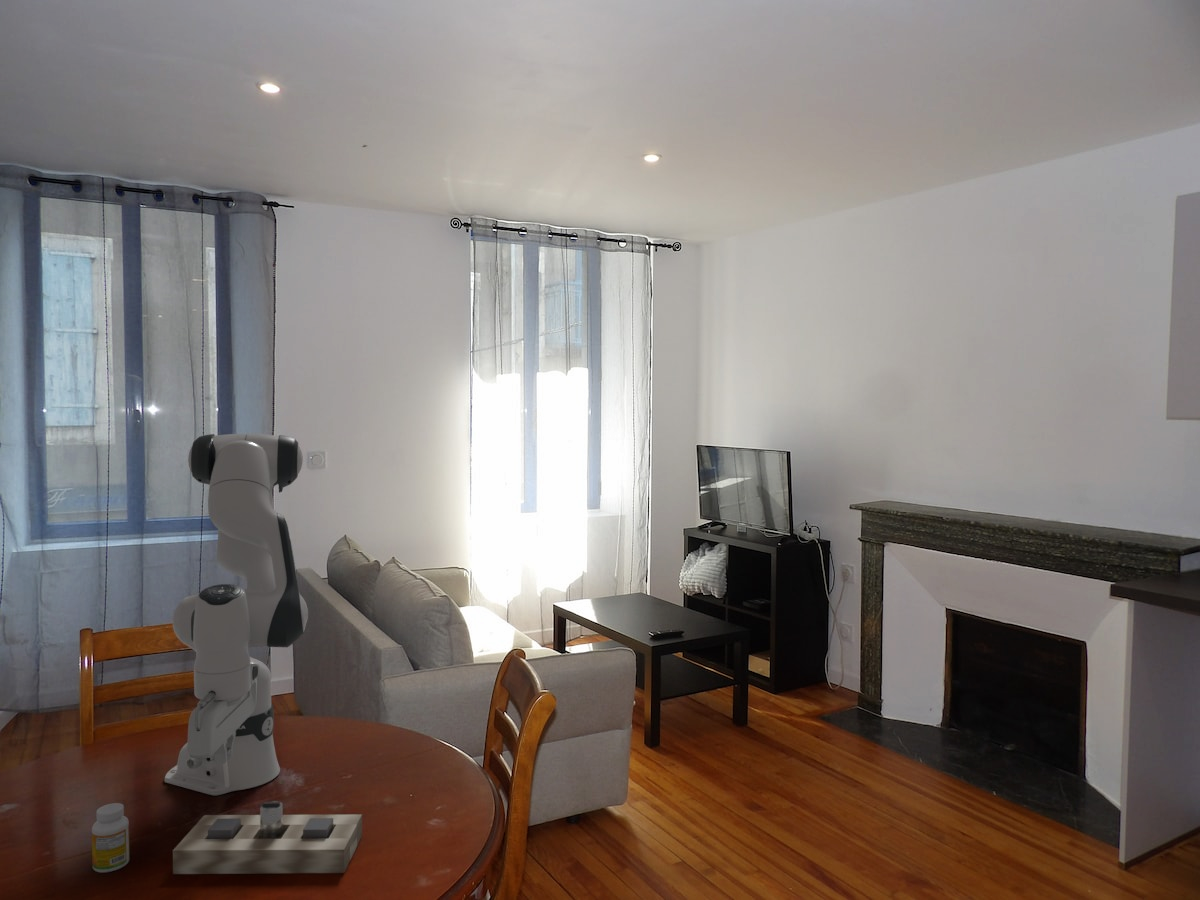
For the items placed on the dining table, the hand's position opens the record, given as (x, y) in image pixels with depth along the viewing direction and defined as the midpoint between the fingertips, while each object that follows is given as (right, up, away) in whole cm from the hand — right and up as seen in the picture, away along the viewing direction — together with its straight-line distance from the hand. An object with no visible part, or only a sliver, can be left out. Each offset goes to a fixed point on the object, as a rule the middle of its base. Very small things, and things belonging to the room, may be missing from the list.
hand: (224, 759), depth 145 cm
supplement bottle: (-18, -17, -3) cm, 24 cm away
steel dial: (+8, -13, +1) cm, 15 cm away
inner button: (0, -16, 0) cm, 16 cm away
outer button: (+16, -16, +1) cm, 23 cm away
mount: (+8, -17, +1) cm, 18 cm away
